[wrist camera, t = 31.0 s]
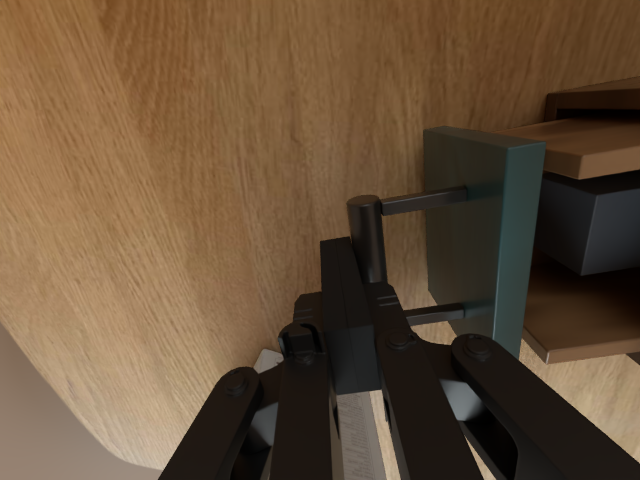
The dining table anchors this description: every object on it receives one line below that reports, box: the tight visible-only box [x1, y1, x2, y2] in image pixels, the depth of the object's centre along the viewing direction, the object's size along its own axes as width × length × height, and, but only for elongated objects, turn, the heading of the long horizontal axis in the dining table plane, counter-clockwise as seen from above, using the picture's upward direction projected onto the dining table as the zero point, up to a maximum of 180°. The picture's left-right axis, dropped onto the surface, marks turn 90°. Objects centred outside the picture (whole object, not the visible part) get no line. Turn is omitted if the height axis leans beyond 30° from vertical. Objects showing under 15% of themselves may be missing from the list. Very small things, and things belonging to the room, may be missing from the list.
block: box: [533, 169, 640, 276], centre depth 15 cm, size 4×4×4 cm
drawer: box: [346, 110, 640, 364], centre depth 15 cm, size 18×10×8 cm, turn 100°
